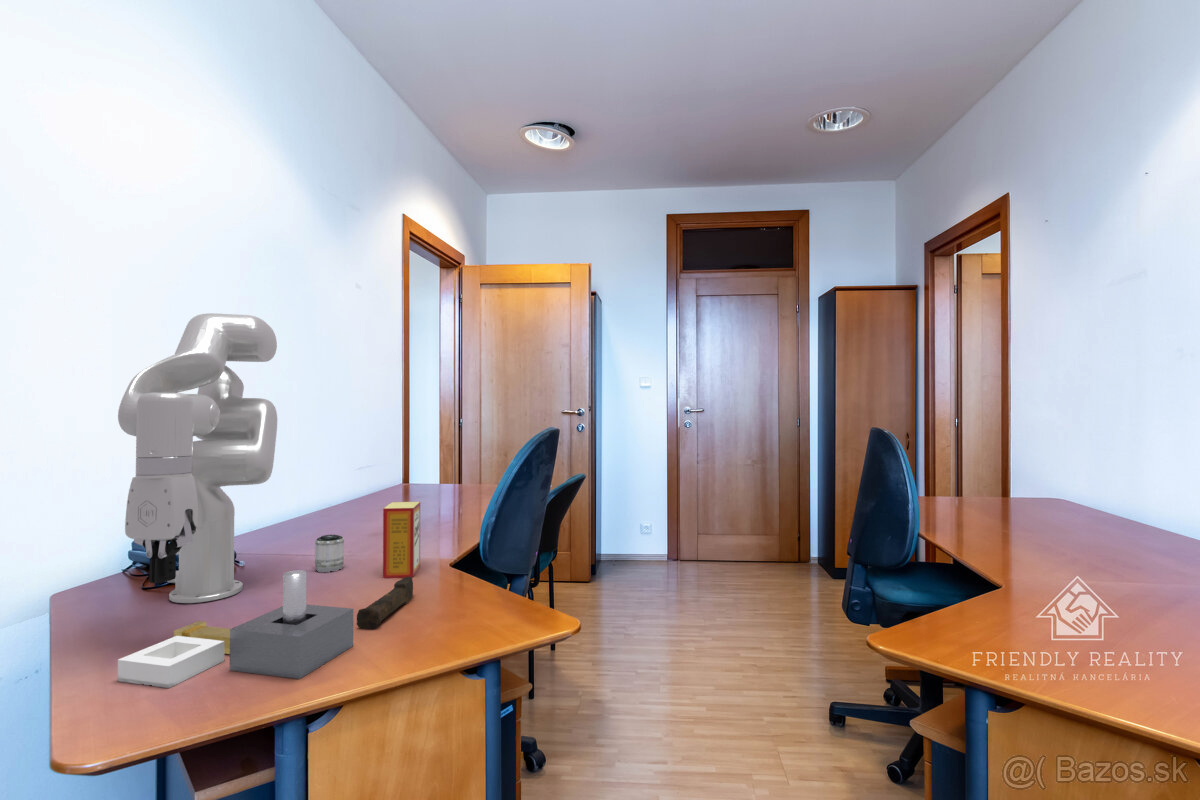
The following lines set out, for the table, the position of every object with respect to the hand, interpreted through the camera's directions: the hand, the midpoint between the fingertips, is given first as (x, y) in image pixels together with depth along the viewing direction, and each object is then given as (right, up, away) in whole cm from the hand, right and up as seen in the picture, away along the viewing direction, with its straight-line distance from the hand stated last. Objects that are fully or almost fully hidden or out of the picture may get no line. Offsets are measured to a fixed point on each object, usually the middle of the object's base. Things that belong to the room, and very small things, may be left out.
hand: (162, 580), depth 97 cm
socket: (+24, -10, -5) cm, 27 cm away
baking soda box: (+25, -11, +42) cm, 50 cm away
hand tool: (+31, -11, +16) cm, 37 cm away
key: (+10, -10, -2) cm, 15 cm away
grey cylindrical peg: (+24, -10, -5) cm, 27 cm away
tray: (+9, -10, -10) cm, 17 cm away
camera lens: (+7, -11, +44) cm, 46 cm away
